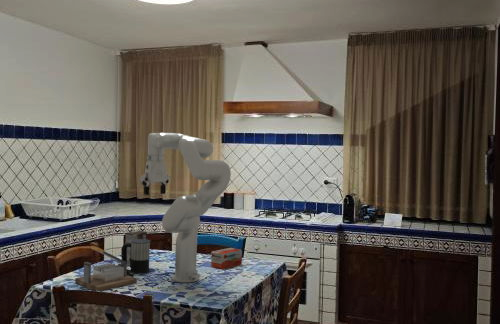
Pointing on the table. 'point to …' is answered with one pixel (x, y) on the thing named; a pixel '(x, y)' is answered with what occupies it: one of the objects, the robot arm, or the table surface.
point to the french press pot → (133, 236)
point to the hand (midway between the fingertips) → (154, 194)
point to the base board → (105, 283)
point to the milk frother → (137, 256)
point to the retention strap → (107, 254)
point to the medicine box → (226, 258)
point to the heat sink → (105, 272)
